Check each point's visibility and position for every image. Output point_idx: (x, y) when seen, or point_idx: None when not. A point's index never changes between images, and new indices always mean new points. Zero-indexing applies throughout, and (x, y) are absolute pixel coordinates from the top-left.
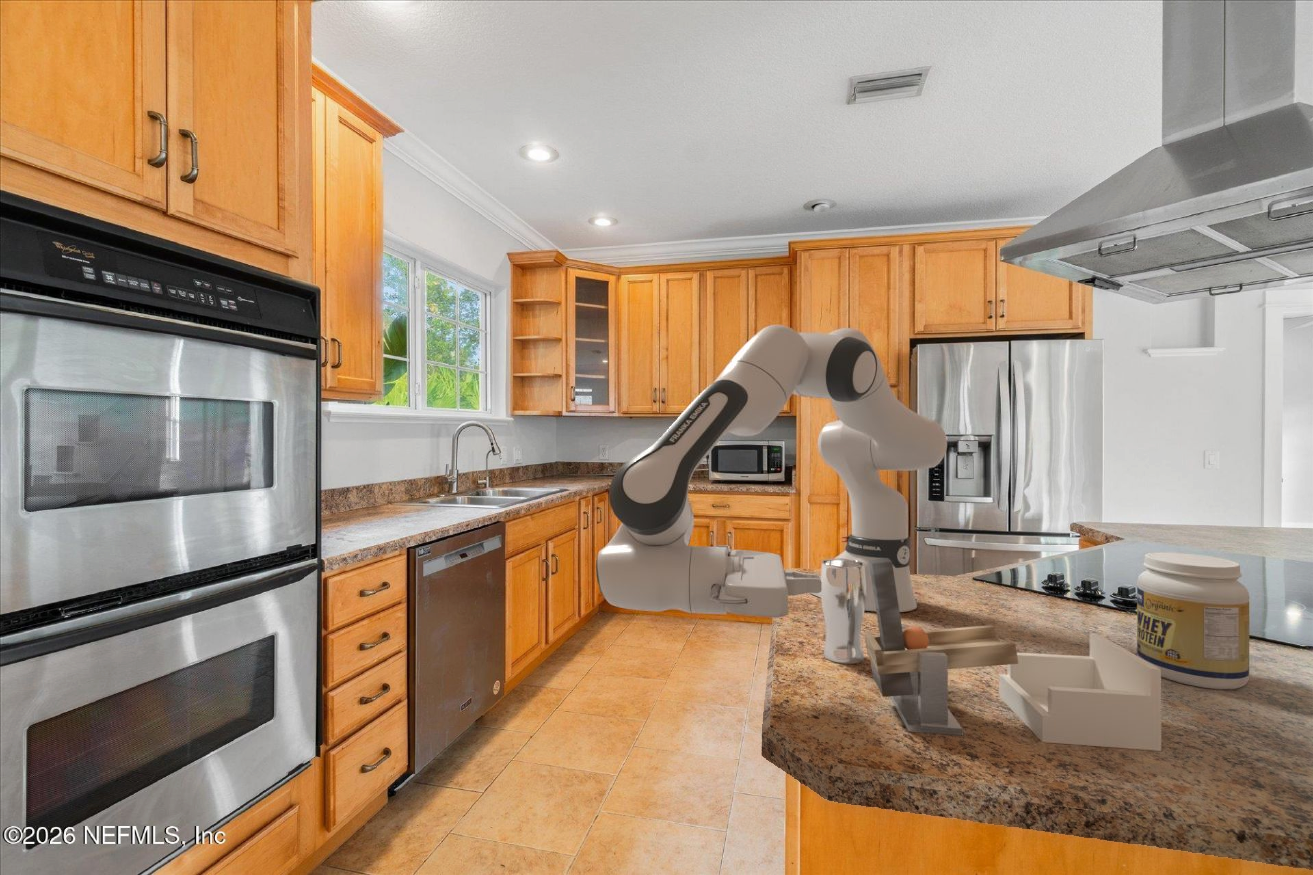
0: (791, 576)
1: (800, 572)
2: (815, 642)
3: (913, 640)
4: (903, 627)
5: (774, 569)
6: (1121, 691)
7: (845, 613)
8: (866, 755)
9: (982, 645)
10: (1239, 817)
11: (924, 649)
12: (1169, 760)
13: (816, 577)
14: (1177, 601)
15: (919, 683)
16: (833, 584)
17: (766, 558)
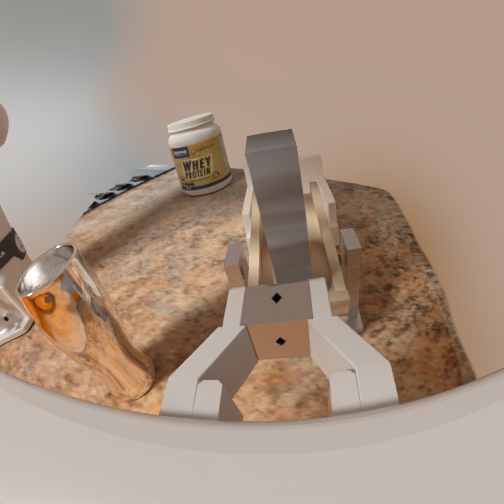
0: (228, 394)
1: (206, 344)
2: (81, 397)
3: (310, 249)
4: (232, 260)
5: (312, 479)
6: (320, 180)
7: (115, 332)
8: (437, 370)
9: (319, 199)
10: (390, 199)
11: (329, 245)
12: (336, 205)
13: (292, 287)
14: (209, 140)
15: (355, 282)
16: (74, 311)
17: (14, 444)
